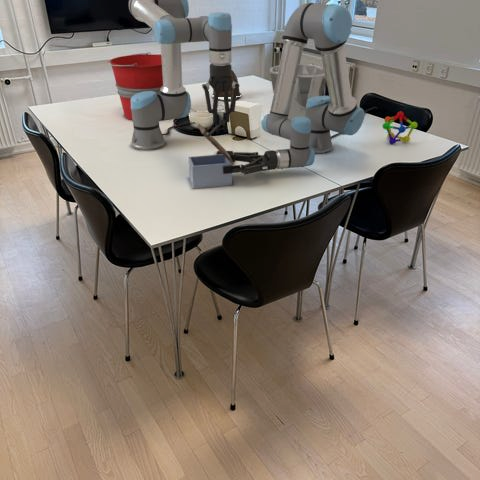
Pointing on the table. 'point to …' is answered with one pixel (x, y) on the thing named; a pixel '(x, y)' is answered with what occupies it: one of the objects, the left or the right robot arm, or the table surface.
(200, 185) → the chest
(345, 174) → the table surface
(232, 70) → the bell
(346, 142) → the table surface
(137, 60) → the bucket
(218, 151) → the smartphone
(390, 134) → the educational toy
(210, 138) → the lid
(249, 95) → the table surface
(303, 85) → the bucket
